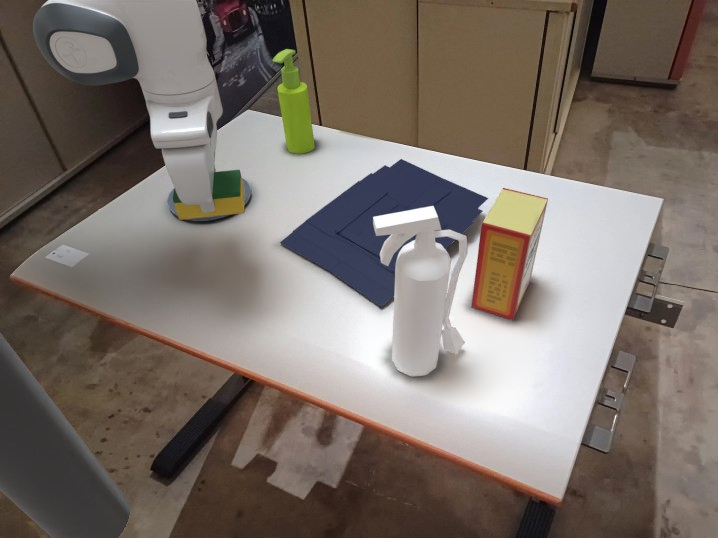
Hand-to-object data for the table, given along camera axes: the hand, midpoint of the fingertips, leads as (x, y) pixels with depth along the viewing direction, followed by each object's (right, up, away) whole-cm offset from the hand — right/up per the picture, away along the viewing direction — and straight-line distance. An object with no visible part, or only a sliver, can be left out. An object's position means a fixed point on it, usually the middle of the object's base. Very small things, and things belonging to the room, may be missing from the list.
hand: (210, 195), depth 80 cm
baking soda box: (+43, -14, +6) cm, 46 cm away
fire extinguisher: (+31, -23, -3) cm, 39 cm away
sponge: (0, -1, +1) cm, 2 cm away
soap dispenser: (+6, +17, +39) cm, 43 cm away
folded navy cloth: (+26, -3, +17) cm, 31 cm away
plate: (-8, +4, +25) cm, 26 cm away
